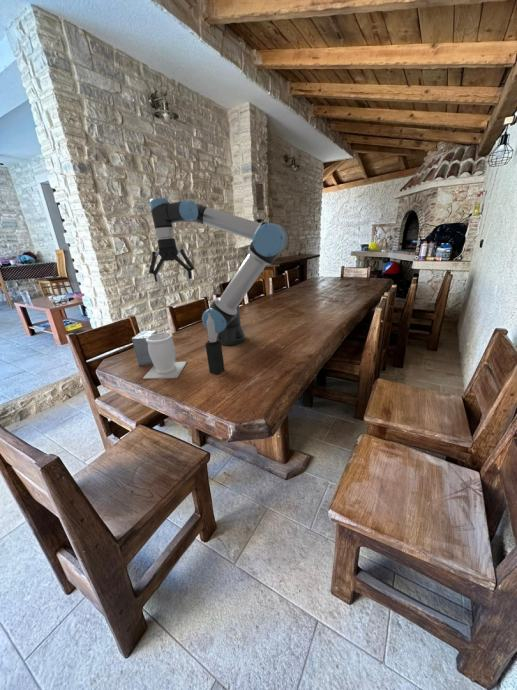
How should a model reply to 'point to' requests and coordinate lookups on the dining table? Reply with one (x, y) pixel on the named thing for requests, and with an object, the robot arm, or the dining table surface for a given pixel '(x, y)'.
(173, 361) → the jar
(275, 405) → the dining table surface
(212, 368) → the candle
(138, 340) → the block
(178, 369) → the mat
